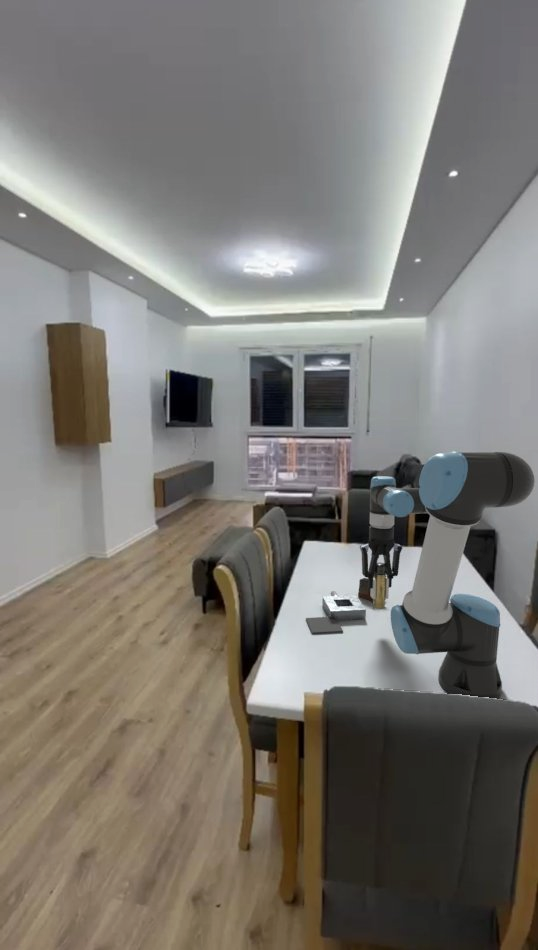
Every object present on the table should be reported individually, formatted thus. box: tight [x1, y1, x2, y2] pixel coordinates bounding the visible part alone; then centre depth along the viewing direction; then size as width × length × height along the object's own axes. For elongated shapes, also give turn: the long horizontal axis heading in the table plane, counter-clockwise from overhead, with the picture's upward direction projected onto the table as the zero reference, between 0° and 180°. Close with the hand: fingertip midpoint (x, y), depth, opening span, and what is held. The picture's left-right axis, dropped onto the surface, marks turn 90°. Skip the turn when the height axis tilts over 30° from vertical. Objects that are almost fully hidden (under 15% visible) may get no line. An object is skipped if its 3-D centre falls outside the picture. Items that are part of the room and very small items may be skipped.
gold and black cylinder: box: [372, 562, 387, 610], centre depth 151 cm, size 4×4×14 cm
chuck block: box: [321, 590, 367, 622], centre depth 168 cm, size 20×12×4 cm, turn 7°
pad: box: [305, 616, 344, 635], centre depth 155 cm, size 10×10×1 cm
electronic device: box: [357, 577, 387, 602], centre depth 175 cm, size 4×10×8 cm, turn 44°
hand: (379, 597), depth 152 cm, fingers closed on gold and black cylinder, 3 cm apart
